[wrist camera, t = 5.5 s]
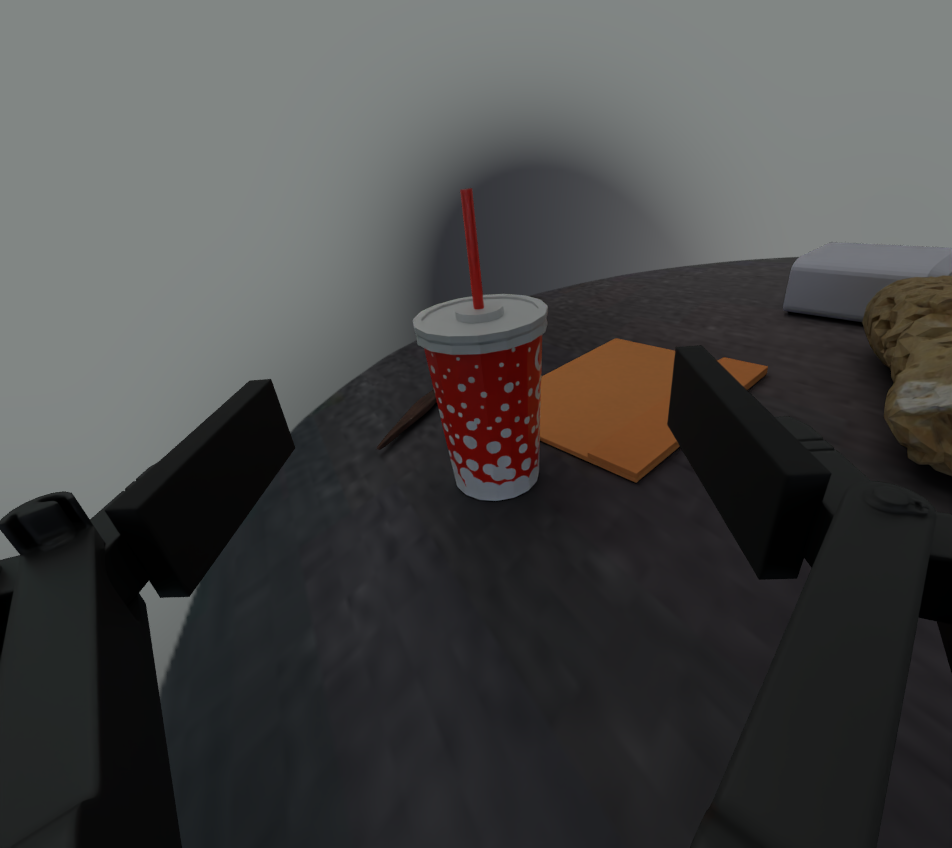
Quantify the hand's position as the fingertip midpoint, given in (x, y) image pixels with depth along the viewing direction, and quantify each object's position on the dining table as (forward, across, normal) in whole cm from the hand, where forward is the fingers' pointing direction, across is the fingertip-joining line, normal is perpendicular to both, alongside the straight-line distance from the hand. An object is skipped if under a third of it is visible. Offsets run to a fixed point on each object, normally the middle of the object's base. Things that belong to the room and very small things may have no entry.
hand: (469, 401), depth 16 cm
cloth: (+16, +9, -8) cm, 19 cm away
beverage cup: (+7, 0, -8) cm, 11 cm away
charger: (+26, +33, -8) cm, 43 cm away
